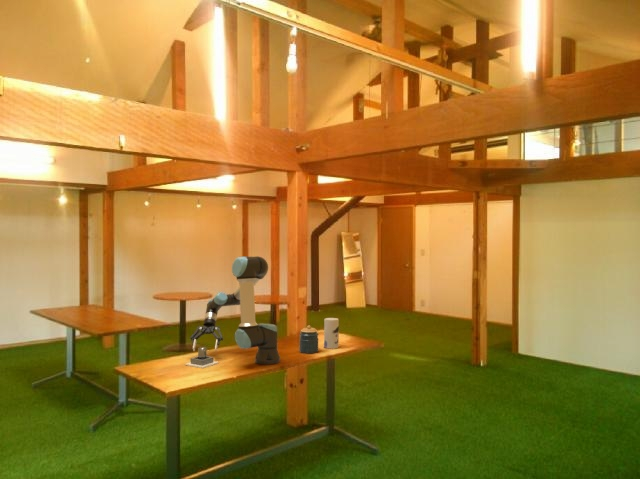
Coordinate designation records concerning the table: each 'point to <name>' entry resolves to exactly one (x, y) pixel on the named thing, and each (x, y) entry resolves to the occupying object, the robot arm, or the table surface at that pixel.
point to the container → (331, 333)
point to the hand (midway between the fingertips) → (204, 349)
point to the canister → (308, 340)
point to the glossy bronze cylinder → (202, 353)
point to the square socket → (202, 362)
